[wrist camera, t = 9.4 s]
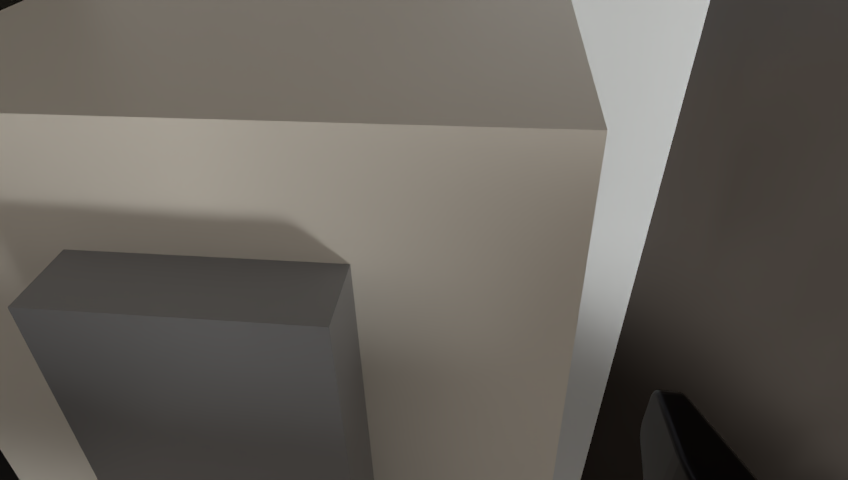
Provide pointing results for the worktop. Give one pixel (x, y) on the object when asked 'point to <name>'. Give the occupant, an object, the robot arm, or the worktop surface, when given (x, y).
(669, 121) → the mat
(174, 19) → the module
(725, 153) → the worktop surface
